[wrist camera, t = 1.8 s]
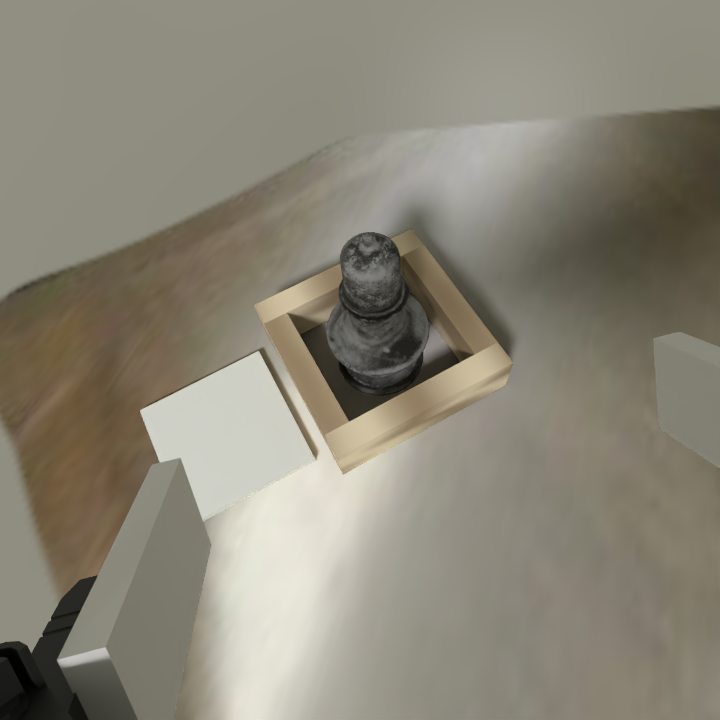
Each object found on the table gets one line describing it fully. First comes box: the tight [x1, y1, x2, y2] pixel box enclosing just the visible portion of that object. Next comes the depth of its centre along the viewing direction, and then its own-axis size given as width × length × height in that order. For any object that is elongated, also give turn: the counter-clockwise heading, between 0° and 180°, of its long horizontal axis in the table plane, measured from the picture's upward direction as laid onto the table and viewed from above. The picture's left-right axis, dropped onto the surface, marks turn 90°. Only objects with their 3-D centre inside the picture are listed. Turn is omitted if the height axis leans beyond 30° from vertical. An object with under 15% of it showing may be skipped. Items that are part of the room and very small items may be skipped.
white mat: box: [140, 351, 316, 521], centre depth 35 cm, size 8×8×1 cm
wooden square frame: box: [254, 229, 513, 474], centre depth 35 cm, size 11×11×3 cm
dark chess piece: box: [326, 232, 429, 395], centre depth 31 cm, size 6×6×12 cm
